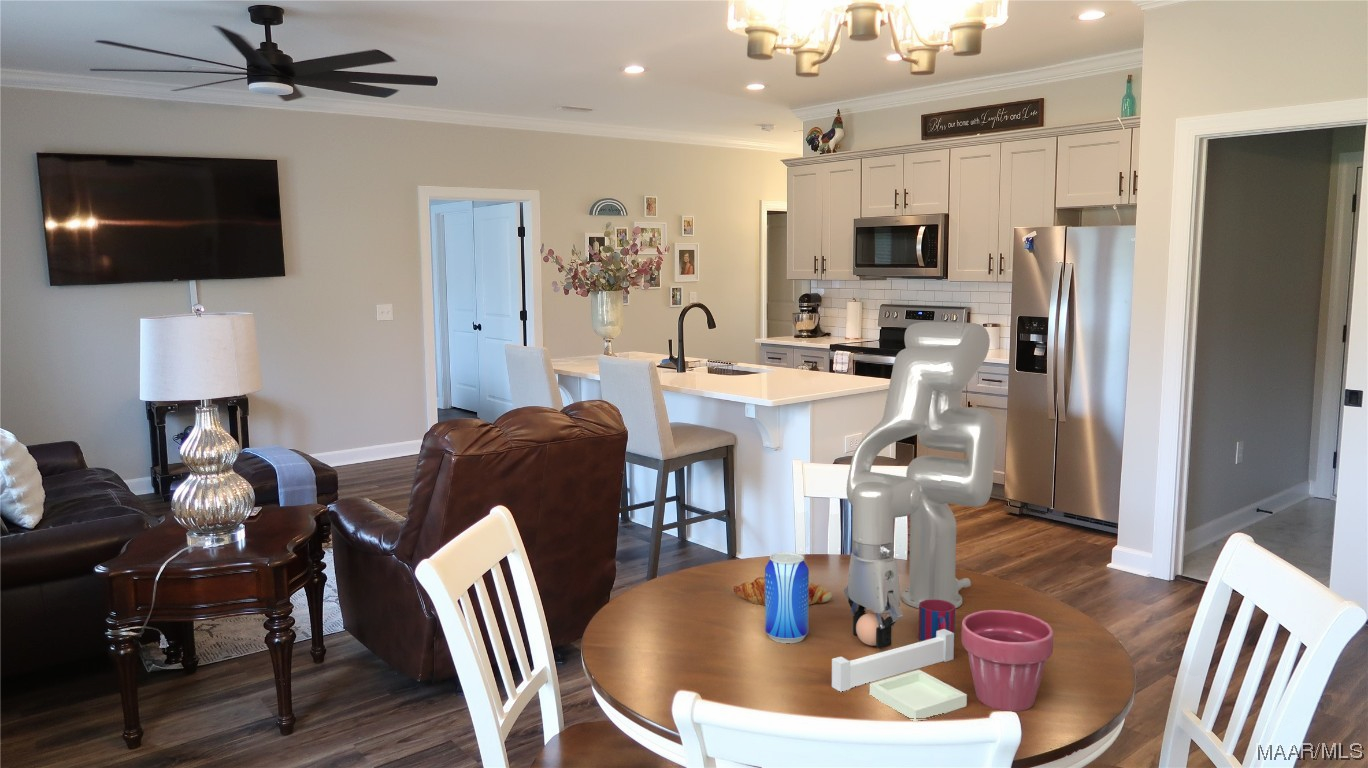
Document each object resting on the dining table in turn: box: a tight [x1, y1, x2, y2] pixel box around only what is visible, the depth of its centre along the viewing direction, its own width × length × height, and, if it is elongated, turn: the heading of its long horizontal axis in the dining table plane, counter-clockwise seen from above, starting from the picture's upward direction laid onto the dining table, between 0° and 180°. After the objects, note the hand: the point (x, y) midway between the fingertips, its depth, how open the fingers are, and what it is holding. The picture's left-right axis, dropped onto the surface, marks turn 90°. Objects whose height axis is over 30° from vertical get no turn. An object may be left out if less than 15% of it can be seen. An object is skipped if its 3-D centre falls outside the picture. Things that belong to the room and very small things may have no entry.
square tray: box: [869, 669, 968, 722], centre depth 151 cm, size 11×11×2 cm
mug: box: [918, 599, 956, 642], centre depth 174 cm, size 7×10×7 cm
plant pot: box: [961, 609, 1054, 712], centre depth 150 cm, size 14×14×13 cm
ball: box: [856, 612, 886, 646], centre depth 173 cm, size 6×6×6 cm
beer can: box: [764, 551, 810, 644], centre depth 177 cm, size 8×8×16 cm
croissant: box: [733, 576, 833, 606], centre depth 197 cm, size 21×10×8 cm, turn 84°
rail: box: [831, 629, 955, 693], centre depth 161 cm, size 26×2×5 cm, turn 119°
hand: (871, 639), depth 173 cm, fingers closed on ball, 5 cm apart
